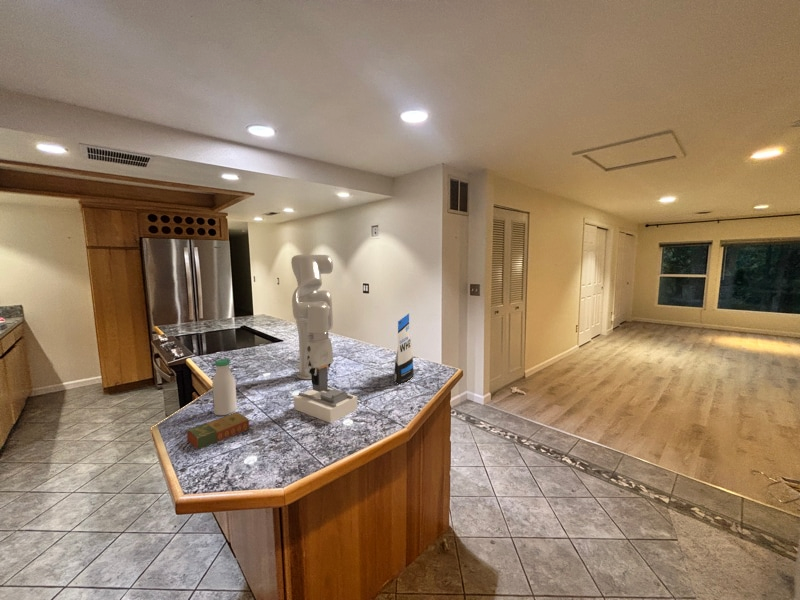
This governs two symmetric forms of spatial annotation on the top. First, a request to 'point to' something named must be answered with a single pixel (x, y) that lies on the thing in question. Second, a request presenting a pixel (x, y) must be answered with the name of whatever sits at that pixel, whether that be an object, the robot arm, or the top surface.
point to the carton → (217, 430)
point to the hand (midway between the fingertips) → (319, 382)
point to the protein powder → (403, 353)
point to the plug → (321, 379)
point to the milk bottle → (224, 389)
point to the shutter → (334, 396)
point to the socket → (324, 405)
